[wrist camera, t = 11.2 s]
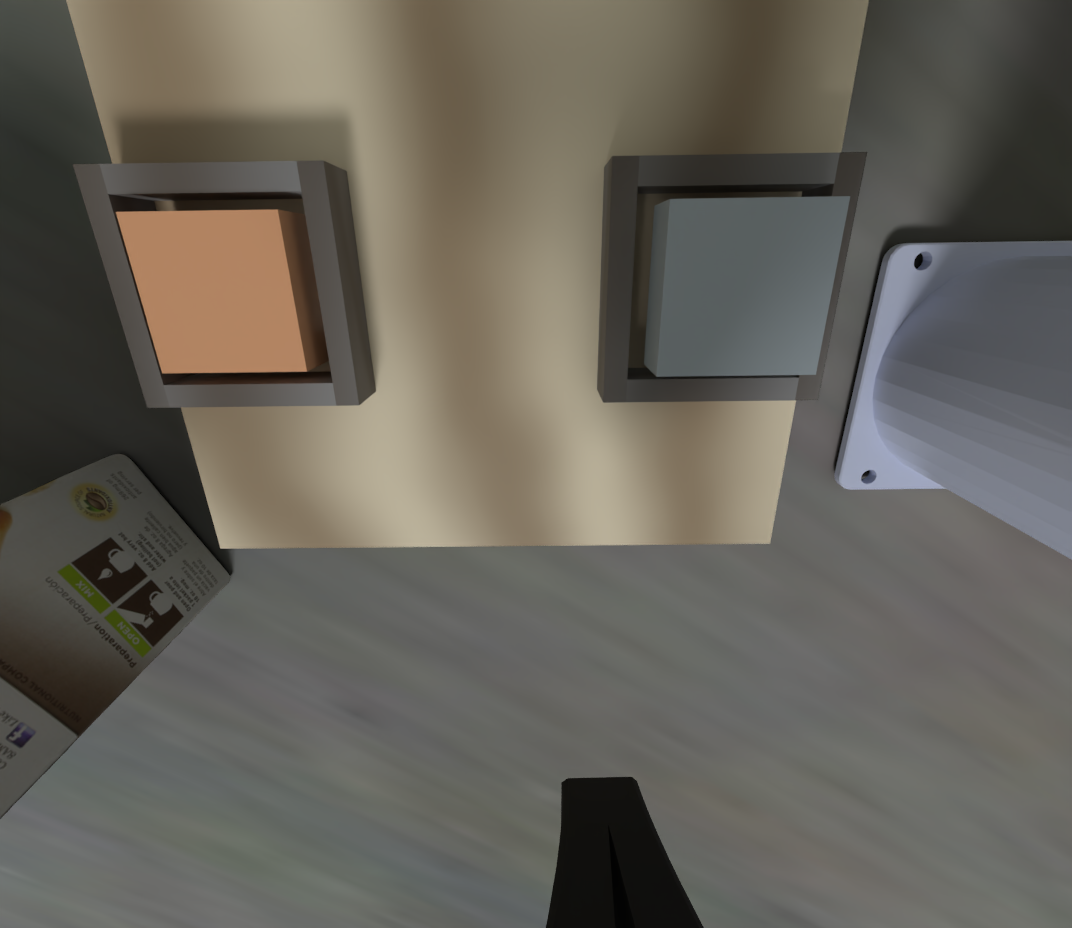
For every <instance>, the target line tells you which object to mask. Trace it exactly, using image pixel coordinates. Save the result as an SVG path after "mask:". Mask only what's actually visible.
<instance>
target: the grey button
mask: <svg viewBox="0 0 1072 928" xmlns="http://www.w3.org/2000/svg"><path fill="white" fill-rule="evenodd" d="M849 201H850V196H831V197H763V198H695V199H669V200H666V201H664V202H662V203H660V204H657V205H655V206H654V218H653V233H652V248H651V263H650V279H649V294H648V309H647V324H646V339H645V354H644V365H645V366H646V367H647V368H648V369H649V370H650V371H651V372H652V373H653V374H654V375H655V376H656V377H671V376H755V375H816V371H817V366H818V361H819V356H820V351H821V345H822V340H823V335H824V330H825V325H826V320H827V314H828V309H829V304H830V299H831V294H832V288H833V283H834V278H835V273H836V268H837V263H838V257H839V252H840V247H841V242H842V237H843V232H844V226H845V221H846V216H847V211H848V206H849Z"/></svg>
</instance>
